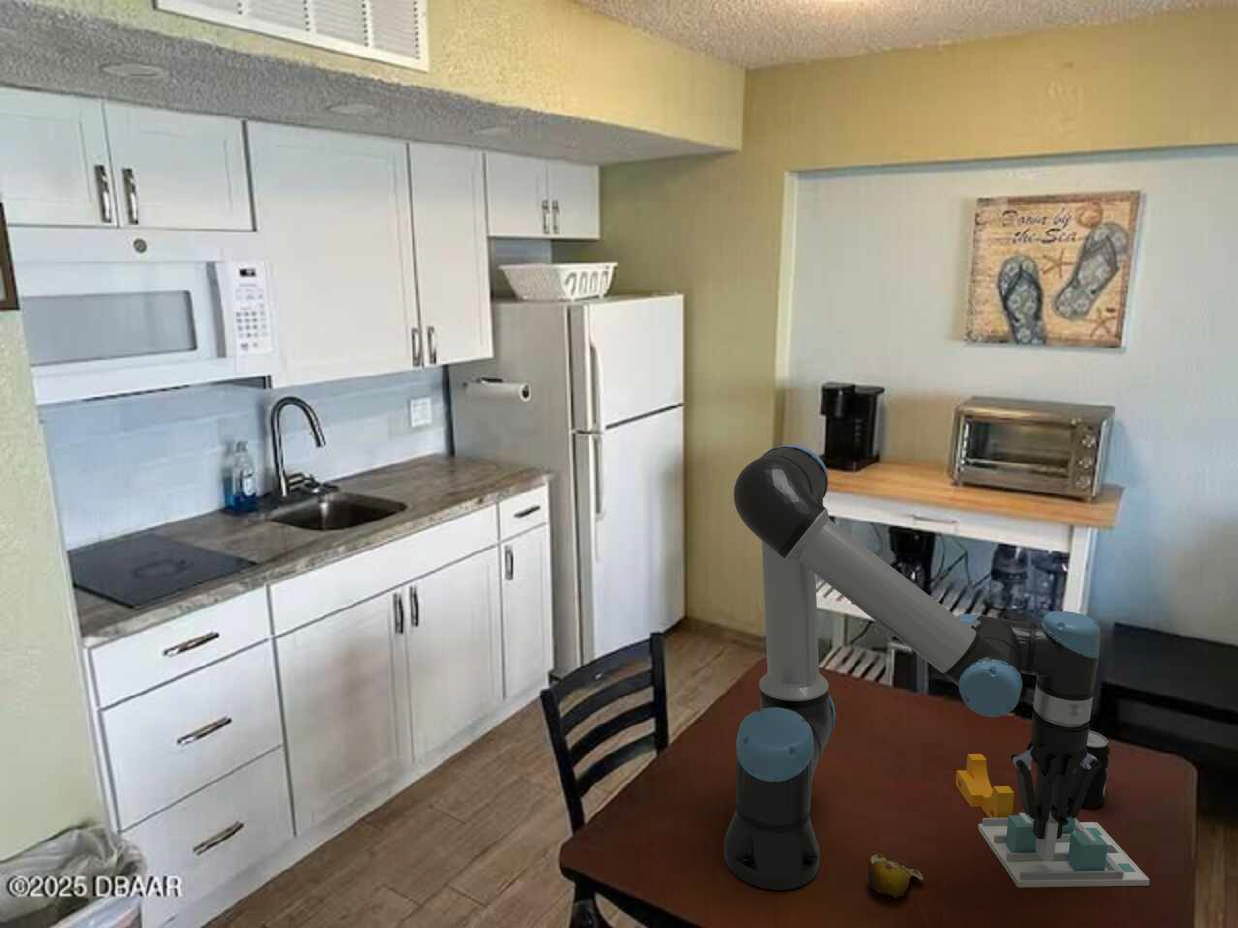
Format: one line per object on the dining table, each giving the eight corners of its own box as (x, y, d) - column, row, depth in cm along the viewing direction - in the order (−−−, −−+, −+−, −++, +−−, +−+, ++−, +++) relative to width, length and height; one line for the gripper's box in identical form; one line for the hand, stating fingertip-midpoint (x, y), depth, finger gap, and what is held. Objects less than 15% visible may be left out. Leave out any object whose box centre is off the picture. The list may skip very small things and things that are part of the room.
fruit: (926, 875, 128) (927, 855, 127) (909, 910, 122) (910, 889, 121) (873, 854, 133) (874, 834, 132) (854, 886, 127) (855, 866, 126)
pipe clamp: (955, 786, 152) (958, 754, 151) (978, 785, 152) (981, 753, 151) (985, 827, 141) (988, 793, 139) (1010, 826, 141) (1014, 792, 139)
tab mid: (1014, 855, 131) (1017, 823, 130) (1005, 843, 134) (1008, 812, 133) (1039, 855, 131) (1042, 823, 130) (1030, 842, 134) (1033, 811, 133)
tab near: (1078, 873, 127) (1082, 841, 126) (1067, 860, 130) (1071, 828, 129) (1104, 873, 127) (1108, 841, 126) (1093, 860, 130) (1096, 828, 129)
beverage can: (1102, 814, 143) (1109, 751, 141) (1059, 802, 147) (1066, 740, 144) (1104, 795, 149) (1111, 734, 146) (1062, 784, 152) (1069, 724, 150)
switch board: (1017, 887, 126) (1019, 874, 126) (978, 828, 140) (979, 817, 139) (1148, 885, 126) (1150, 872, 126) (1096, 827, 140) (1097, 815, 140)
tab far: (1048, 836, 136) (1051, 806, 135) (1039, 825, 139) (1042, 795, 137) (1073, 836, 136) (1076, 805, 135) (1063, 825, 139) (1066, 794, 137)
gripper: (1030, 728, 120) (1014, 872, 125) (1119, 728, 120) (1100, 871, 125) (1005, 703, 127) (991, 839, 132) (1090, 702, 127) (1072, 839, 132)
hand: (1044, 854), depth 128 cm, fingers closed
